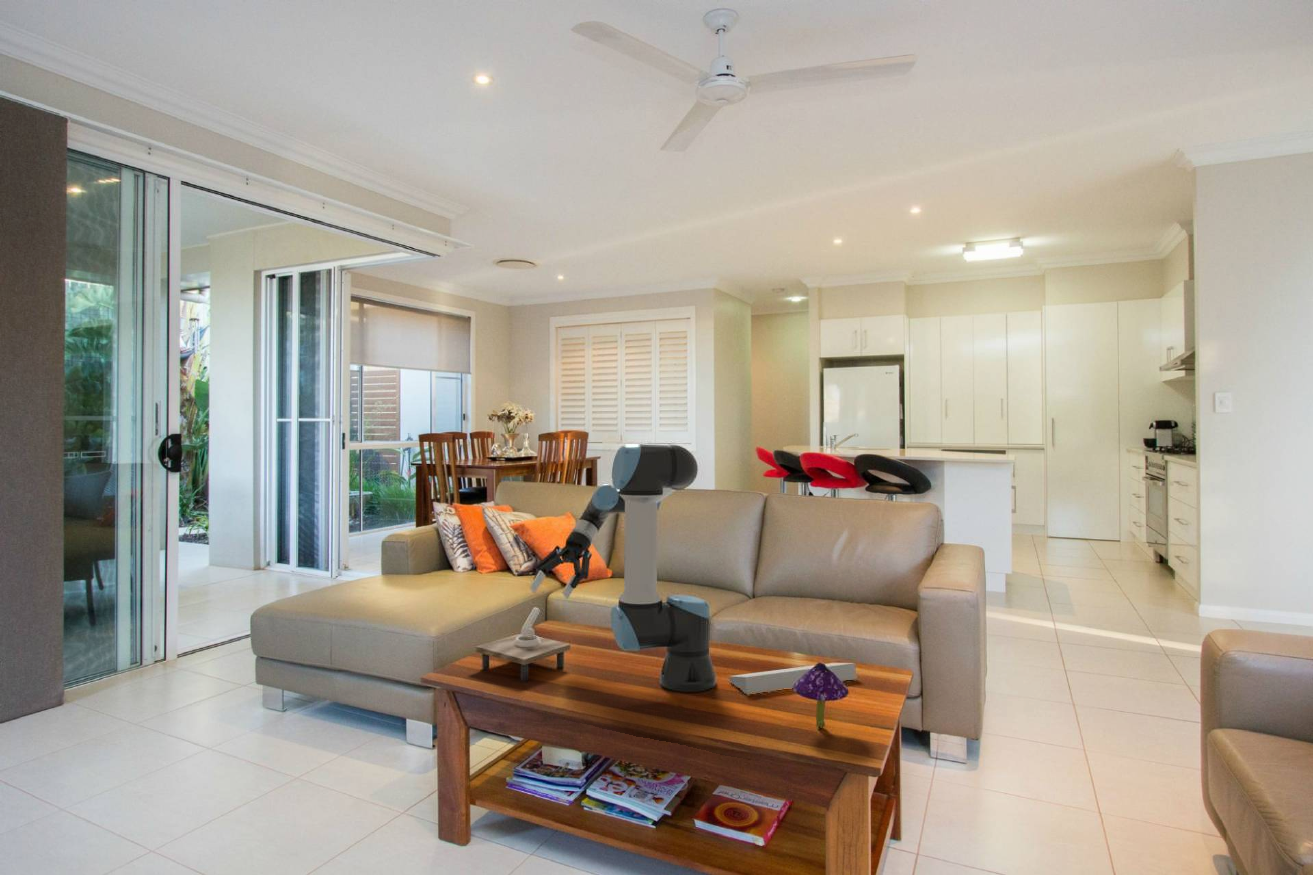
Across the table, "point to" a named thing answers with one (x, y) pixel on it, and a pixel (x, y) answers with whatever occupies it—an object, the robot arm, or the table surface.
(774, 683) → the decorative molding
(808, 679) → the decorative mushroom
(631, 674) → the table surface
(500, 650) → the small wooden table
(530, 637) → the white ring with handle
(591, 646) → the table surface
